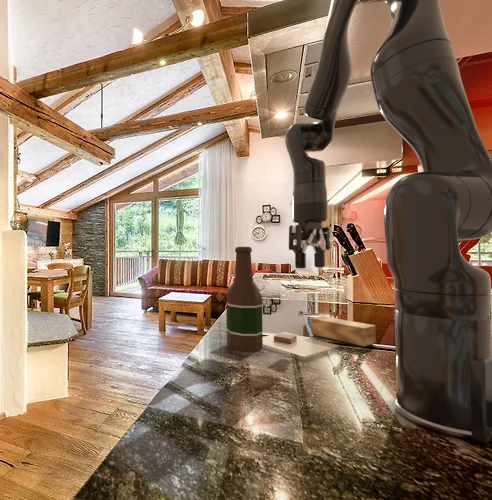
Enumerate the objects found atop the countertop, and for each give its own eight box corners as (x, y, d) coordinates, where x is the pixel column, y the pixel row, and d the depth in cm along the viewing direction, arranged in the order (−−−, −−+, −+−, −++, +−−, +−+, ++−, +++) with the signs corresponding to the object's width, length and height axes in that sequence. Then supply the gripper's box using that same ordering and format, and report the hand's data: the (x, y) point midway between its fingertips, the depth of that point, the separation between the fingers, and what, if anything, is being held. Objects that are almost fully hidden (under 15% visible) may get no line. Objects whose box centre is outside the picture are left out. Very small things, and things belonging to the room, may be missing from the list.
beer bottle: (270, 354, 66) (269, 246, 67) (242, 358, 64) (241, 246, 64) (246, 344, 74) (245, 247, 74) (220, 348, 71) (218, 247, 71)
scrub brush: (376, 349, 69) (375, 325, 69) (365, 353, 66) (364, 328, 66) (322, 336, 79) (322, 316, 79) (311, 339, 77) (311, 318, 77)
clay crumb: (296, 340, 73) (296, 335, 73) (291, 344, 70) (291, 339, 70) (279, 337, 76) (279, 332, 76) (273, 340, 73) (273, 335, 73)
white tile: (340, 349, 69) (340, 345, 69) (304, 361, 62) (304, 356, 62) (284, 335, 81) (284, 332, 81) (249, 344, 74) (249, 340, 74)
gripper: (308, 197, 68) (309, 269, 67) (340, 202, 75) (341, 267, 75) (278, 202, 74) (279, 268, 74) (310, 207, 81) (311, 266, 81)
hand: (310, 267), depth 74 cm, fingers open, 8 cm apart
